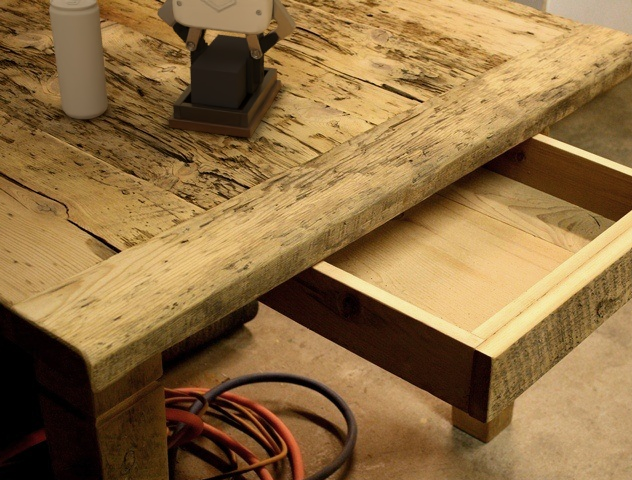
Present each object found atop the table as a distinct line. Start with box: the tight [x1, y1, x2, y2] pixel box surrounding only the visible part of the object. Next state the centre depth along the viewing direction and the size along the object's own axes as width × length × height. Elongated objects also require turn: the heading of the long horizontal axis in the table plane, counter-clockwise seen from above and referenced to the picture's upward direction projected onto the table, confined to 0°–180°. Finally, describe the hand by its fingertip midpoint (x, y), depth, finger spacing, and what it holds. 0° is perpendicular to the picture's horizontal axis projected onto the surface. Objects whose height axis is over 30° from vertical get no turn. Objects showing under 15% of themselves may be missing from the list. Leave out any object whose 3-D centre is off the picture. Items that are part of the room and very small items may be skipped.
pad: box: [189, 34, 250, 109], centre depth 100 cm, size 10×5×4 cm, turn 170°
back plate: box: [168, 66, 282, 139], centre depth 101 cm, size 14×9×2 cm, turn 170°
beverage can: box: [48, 0, 109, 120], centre depth 96 cm, size 5×5×12 cm
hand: (227, 84), depth 101 cm, fingers closed on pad, 5 cm apart
